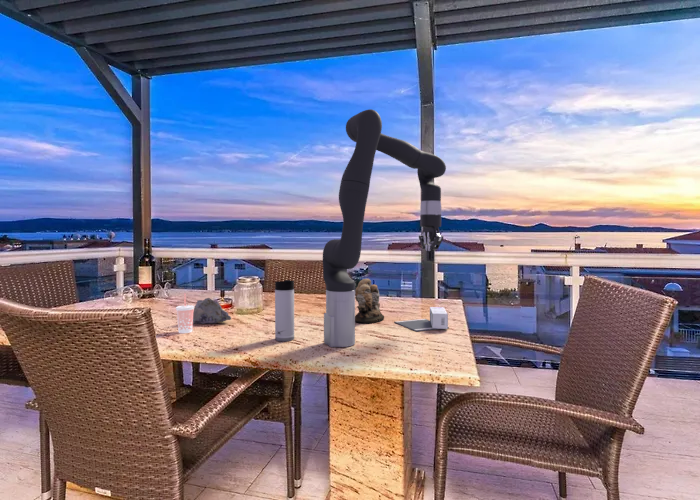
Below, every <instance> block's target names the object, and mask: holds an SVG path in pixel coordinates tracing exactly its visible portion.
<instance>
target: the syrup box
mask: <svg viewBox="0 0 700 500" xmlns="http://www.w3.org/2000/svg"><path fill="white" fill-rule="evenodd" d="M448 315H449V314H448V312H447V311H446V309H445V307H437V306H429V321H430V323H431V326H432V328H435V329H437V330H448V329H449V328H448V327H449V316H448Z"/></svg>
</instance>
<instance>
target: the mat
mask: <svg viewBox="0 0 700 500" xmlns="http://www.w3.org/2000/svg"><path fill="white" fill-rule="evenodd" d="M394 324H397V325H398V326H401V327H404V328H407V329H409V330H411V331H414V332H416V333H417V332H419V333H420V332H427V331H435V330H438V329H435V328H432V326H431V323H430V319H426V318H419V319H408V320H399V321H394ZM449 328H450V327H449V326H448V329H449Z"/></svg>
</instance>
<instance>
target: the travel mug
mask: <svg viewBox="0 0 700 500" xmlns="http://www.w3.org/2000/svg"><path fill="white" fill-rule="evenodd" d="M274 313H275V314H274V328H275V329H274V332H275V333H274V334H275V336H274V337H275V338H274V339H275V340H276V341H277V342H286V343H287V342H290V341H293V340H294V339H295V280H290V279H285V280H280V281H278V280H277V281H274Z"/></svg>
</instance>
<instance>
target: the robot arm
mask: <svg viewBox="0 0 700 500" xmlns="http://www.w3.org/2000/svg"><path fill="white" fill-rule="evenodd" d="M382 129H383V122H382V118H381V115H380V114H379V113H378V112H377V111H376V110H375V109H370V108H369V109H365V110H362V111H361V112H358V113H357V114H354V115H353V116H351V117H349V119H348V120H347V121H346V124H345V133H346V135H347V136H348V138H349V139H350V140H351V141H352V142H354V143H355V147H354V151H353V152H352V153H353V154H352V155H351V158H350V159H349V161H348V163H347V166H346V167H345V169H344V171H343V173H342V177H341V179H340V185H339V191H338V203H339V207H340V211H341V215H342V220H343V221H342V231H341V236H340V239H339V238H337V239H335V238H334V239H330V240H329V241H327V242H326V243H325V245H324V248H323V250H322V270H323V271H322V276H323V281H324V284H325V312H324V313H323V343H324V344H325V345H327V346H328V347H330V348H342V347H343V348H346V347H352V346H353V345H355V343H356V322H355V316H356V298H355V290H356V281H355V280H354V279H353V278H351V277H350V275H349V273H348V270H352V269H353V268H355V267H357V265H358V263H359V261H360V259H361V254H362V252H361V251H362V240H363V227H364V220H365V214H366V213H365V212H366V206H367V200H368V197H369V191H370V185H371V179H372V178H371V177H372V172H373V167H374V163H375V162H374V161H375V156H376V151H377V152H380V153H382V154H385V155H386V156H389V157H390V158H392V159H395V160H396V161H398V162H400V163H401V164H403V165H405V166H407V167H409V168H410V169H415V170H416V169H417V171H416V172H417V178H418V183H419V187H420V189H421V193H420V194H421V197H420V199H421V202H420V203H421V204H420V213H419V214H420V218H419V220H420V227H422V232H421V233H422V234H421V235H418V239H419V242H420V244H421V247H422V249H423V250H425V251H426V262H434V261H435V252H436V250H438V249H439V248H440V246H441V243H442V242H443V240H444V235H441V234H440V229H439V227H440V228H441V227H442V188H441V186H440V185H439V184H438V185H437V184H435V182H434V179H436V178H437V179H438V178H441V177H442V176H443V175H445V173H446V171H447V170H446V169H447V166H446V162H445V161H444V160H443V159H442V158H441V157H440V156H438V155H435V154H434V153H430V152H428V151H423V150H421V149H420V148H418V147H417V146H415V145H413V144H411V143H410V142H408V141H406V140H403V139H399V138H396V137H392V136H390V135H387V134H384V133H382V131H383V130H382Z"/></svg>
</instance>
